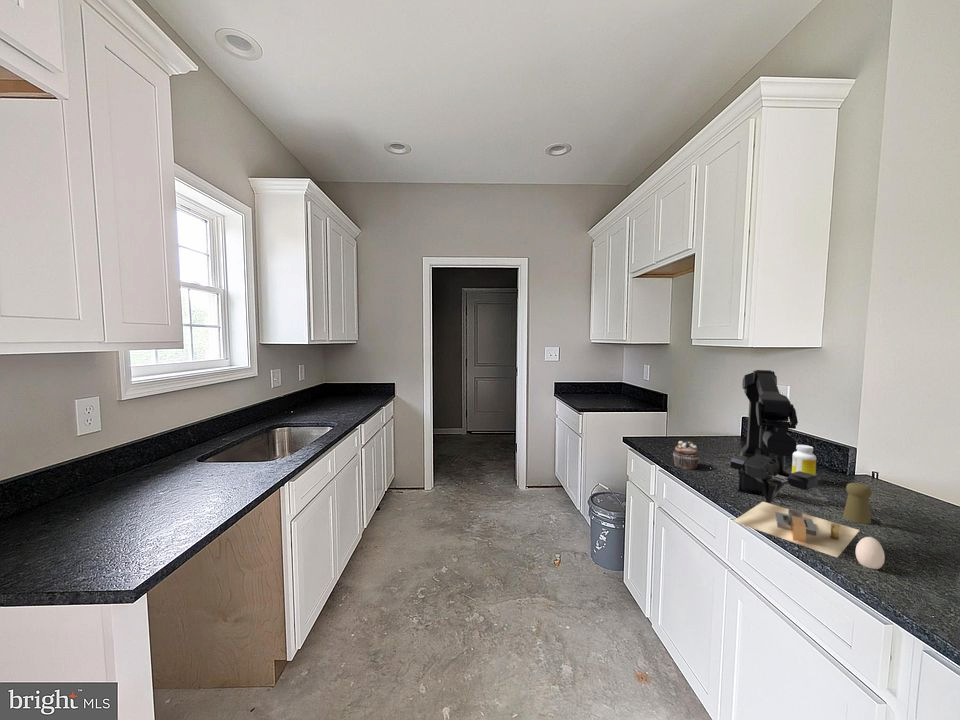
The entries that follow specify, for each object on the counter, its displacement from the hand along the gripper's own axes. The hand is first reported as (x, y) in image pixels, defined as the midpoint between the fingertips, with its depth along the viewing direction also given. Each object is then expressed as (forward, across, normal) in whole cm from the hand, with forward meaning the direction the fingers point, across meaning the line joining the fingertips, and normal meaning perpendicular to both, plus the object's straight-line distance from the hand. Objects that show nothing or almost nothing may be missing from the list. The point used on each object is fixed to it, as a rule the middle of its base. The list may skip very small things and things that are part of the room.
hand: (769, 502), depth 106 cm
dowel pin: (+7, +11, +9) cm, 16 cm away
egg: (+8, +20, +1) cm, 22 cm away
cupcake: (+8, -44, +28) cm, 53 cm away
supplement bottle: (+8, -15, +51) cm, 54 cm away
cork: (+8, +8, +28) cm, 30 cm away
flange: (+7, +4, +5) cm, 9 cm away
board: (+8, +3, +7) cm, 11 cm away
